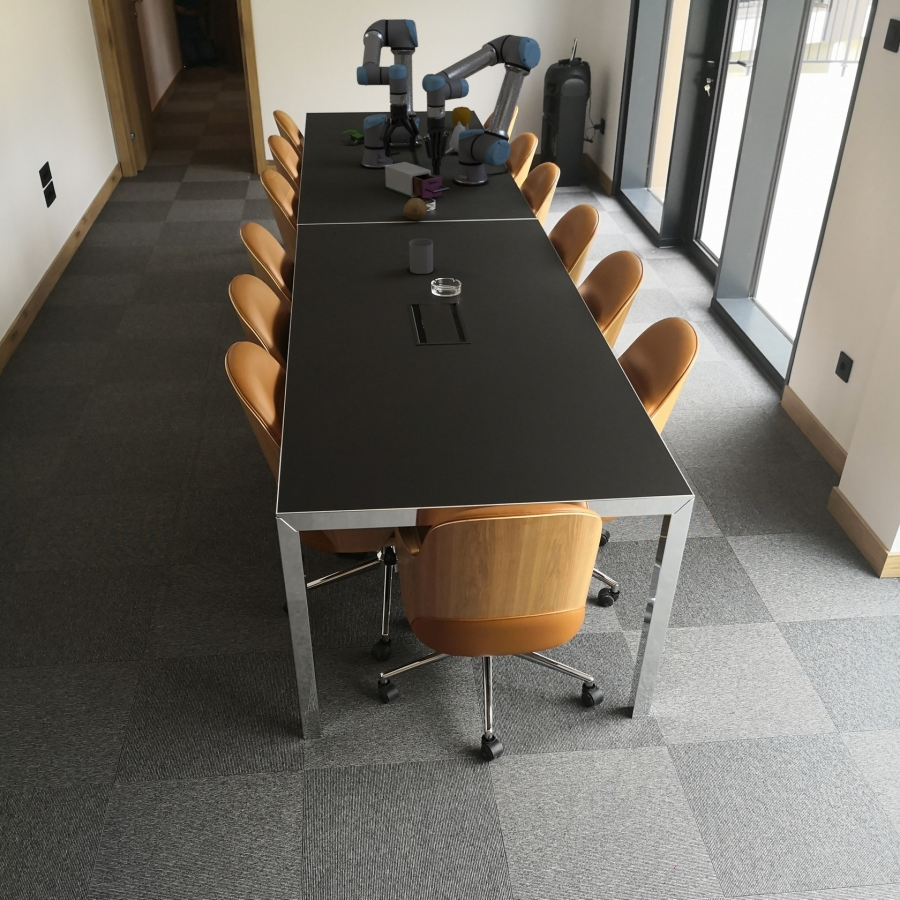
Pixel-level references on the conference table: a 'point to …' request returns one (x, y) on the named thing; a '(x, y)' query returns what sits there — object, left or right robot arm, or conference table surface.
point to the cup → (421, 256)
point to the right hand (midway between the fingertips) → (436, 174)
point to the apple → (461, 116)
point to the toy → (456, 138)
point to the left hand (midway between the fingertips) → (400, 154)
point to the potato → (415, 209)
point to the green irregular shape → (354, 137)
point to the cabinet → (403, 177)
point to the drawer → (428, 186)
